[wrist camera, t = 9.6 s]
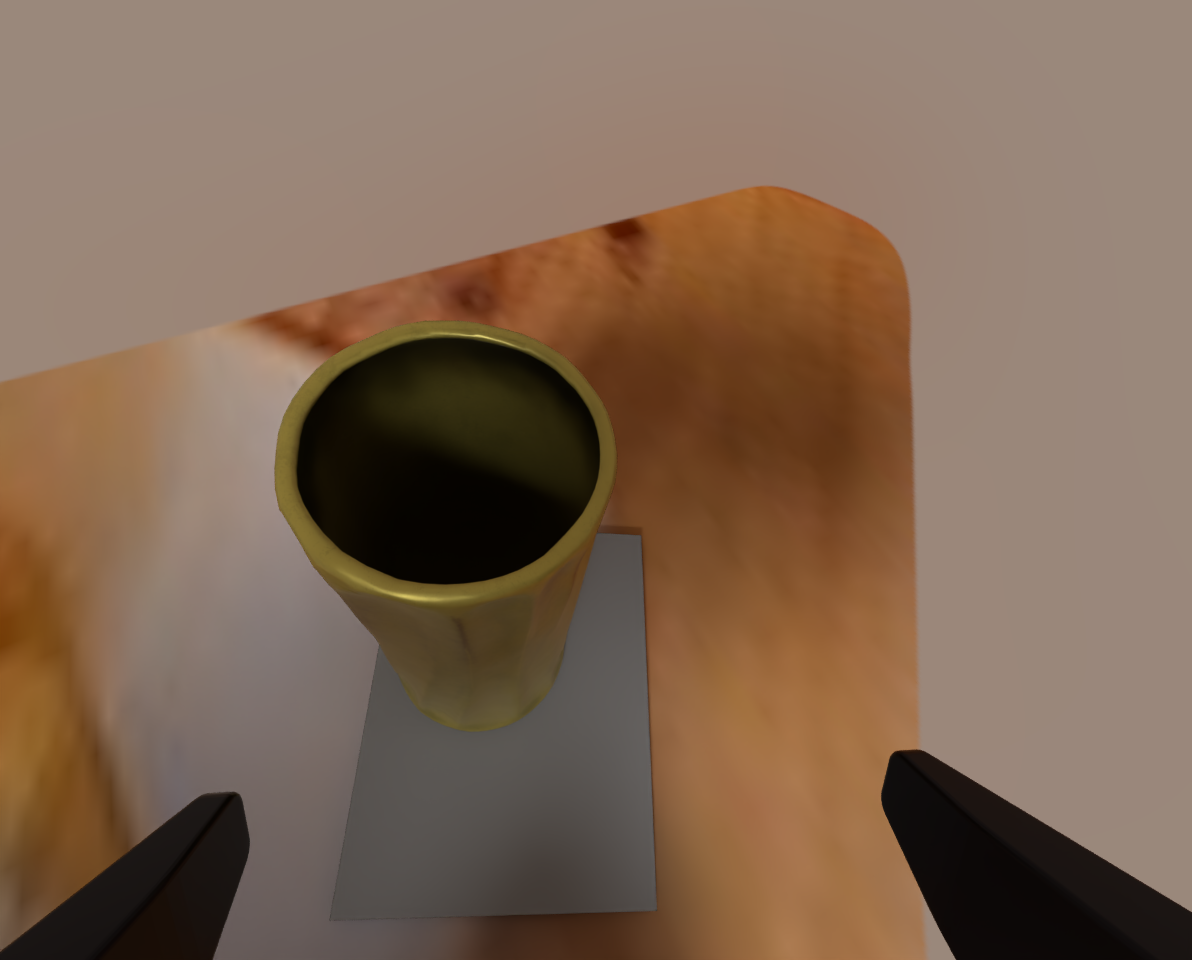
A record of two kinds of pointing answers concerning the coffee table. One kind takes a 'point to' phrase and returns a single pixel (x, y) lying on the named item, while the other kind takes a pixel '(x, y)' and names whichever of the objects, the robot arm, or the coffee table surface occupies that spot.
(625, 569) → the mat
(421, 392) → the vase
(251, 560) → the coffee table surface
